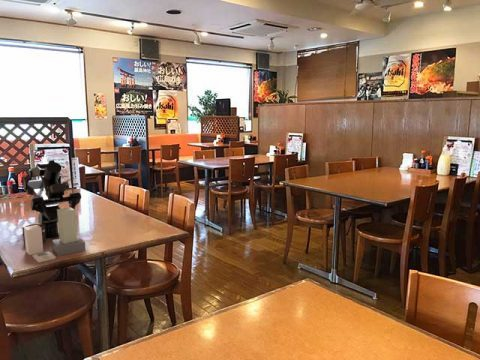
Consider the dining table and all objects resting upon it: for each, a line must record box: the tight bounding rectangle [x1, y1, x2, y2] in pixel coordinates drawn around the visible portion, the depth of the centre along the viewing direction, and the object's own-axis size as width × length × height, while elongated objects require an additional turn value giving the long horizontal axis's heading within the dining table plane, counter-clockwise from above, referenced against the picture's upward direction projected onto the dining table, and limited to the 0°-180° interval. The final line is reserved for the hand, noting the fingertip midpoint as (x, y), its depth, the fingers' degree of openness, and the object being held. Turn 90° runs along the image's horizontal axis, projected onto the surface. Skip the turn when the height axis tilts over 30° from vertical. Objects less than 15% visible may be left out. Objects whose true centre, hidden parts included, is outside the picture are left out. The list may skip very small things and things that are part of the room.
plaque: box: [31, 251, 56, 264], centre depth 144 cm, size 8×6×1 cm
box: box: [22, 223, 47, 245], centre depth 161 cm, size 6×6×7 cm
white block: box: [23, 225, 44, 256], centre depth 150 cm, size 5×5×10 cm
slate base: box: [51, 235, 86, 256], centre depth 153 cm, size 10×10×4 cm
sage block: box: [57, 206, 78, 244], centre depth 152 cm, size 5×5×13 cm
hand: (62, 217), depth 155 cm, fingers open, 9 cm apart
